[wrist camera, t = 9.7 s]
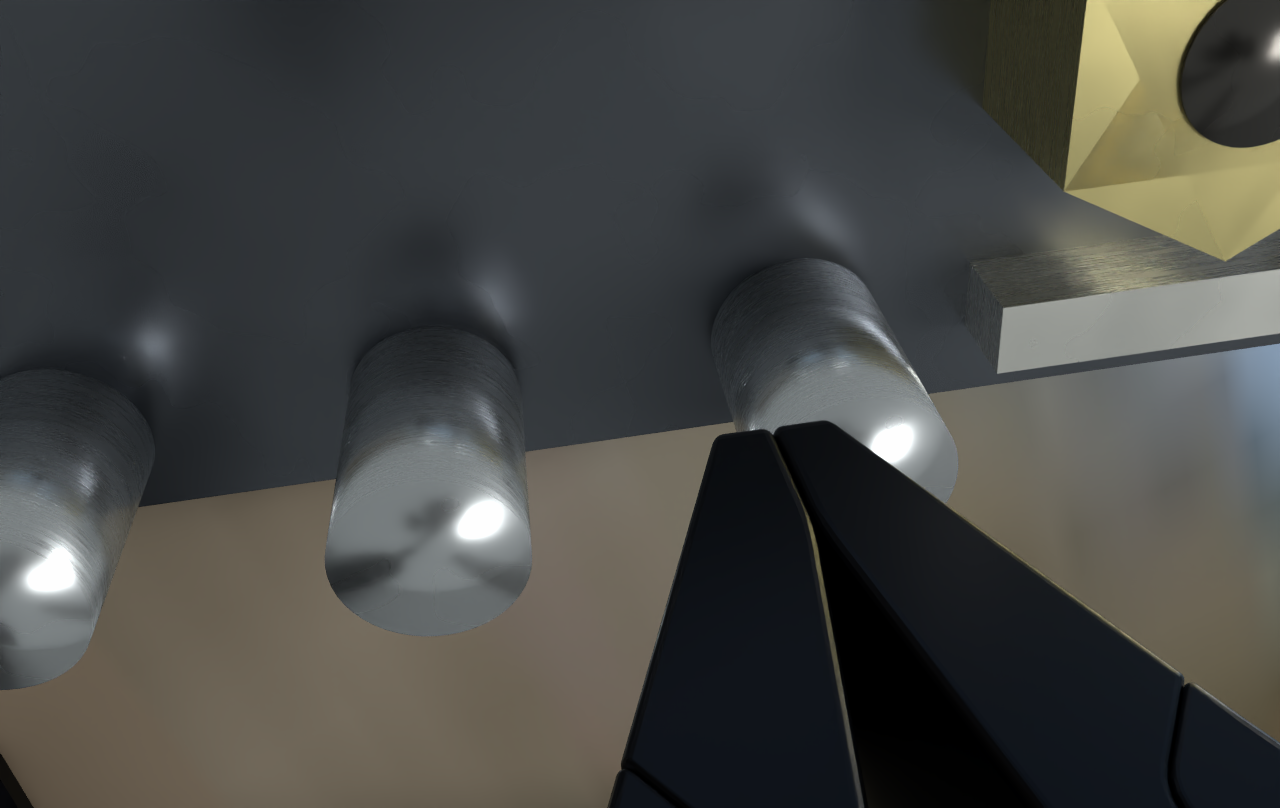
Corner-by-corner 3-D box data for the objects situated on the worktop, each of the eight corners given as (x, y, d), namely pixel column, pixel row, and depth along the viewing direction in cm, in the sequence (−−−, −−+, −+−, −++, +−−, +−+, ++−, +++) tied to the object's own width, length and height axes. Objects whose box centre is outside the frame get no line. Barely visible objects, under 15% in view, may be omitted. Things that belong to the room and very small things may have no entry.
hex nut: (1364, -246, 16) (1533, -214, 13) (1275, 152, 19) (1398, 239, 16) (1005, -201, 16) (1107, -159, 13) (976, 193, 19) (1054, 288, 16)
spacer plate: (1345, 305, 22) (1544, 470, 18) (-33, 501, 21) (-154, 725, 17) (1609, -623, 15) (2050, -701, 11) (-510, -395, 14) (-936, -384, 9)
